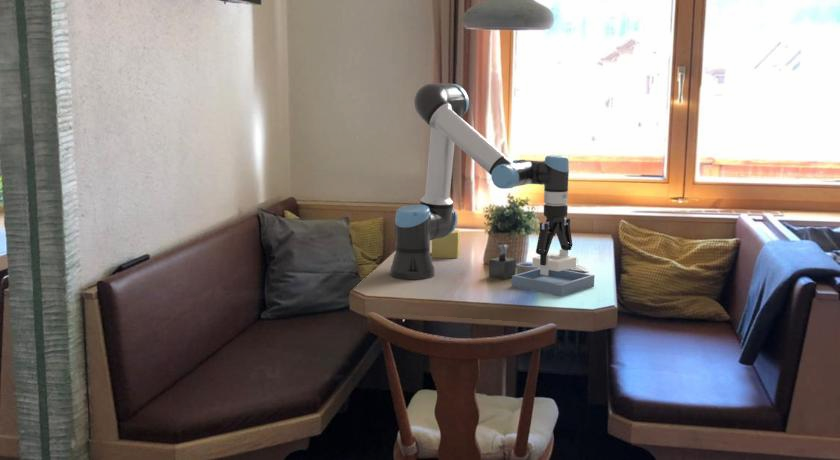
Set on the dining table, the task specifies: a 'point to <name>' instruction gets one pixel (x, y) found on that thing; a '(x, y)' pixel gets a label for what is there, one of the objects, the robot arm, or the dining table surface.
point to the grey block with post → (502, 265)
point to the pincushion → (578, 267)
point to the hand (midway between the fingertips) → (553, 272)
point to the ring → (556, 262)
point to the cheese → (446, 246)
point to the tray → (553, 281)
